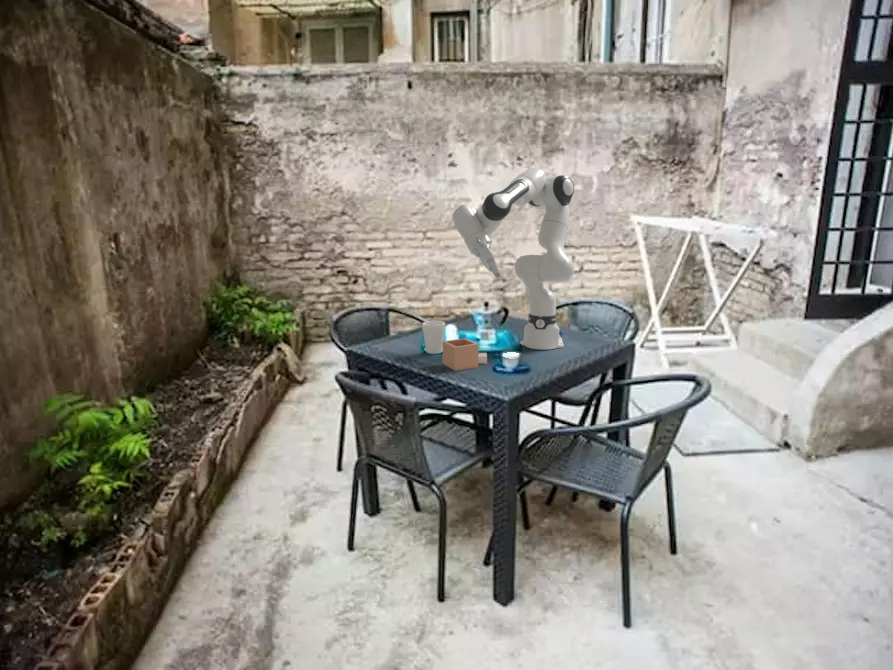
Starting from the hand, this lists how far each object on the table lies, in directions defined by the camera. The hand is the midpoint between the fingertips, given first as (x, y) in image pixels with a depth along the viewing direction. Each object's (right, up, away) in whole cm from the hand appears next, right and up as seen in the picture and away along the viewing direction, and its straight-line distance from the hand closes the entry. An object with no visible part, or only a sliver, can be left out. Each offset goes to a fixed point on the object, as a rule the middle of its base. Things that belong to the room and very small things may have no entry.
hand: (497, 274), depth 219 cm
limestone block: (-6, -34, +13) cm, 37 cm away
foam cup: (-24, -30, +28) cm, 48 cm away
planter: (-14, -35, +9) cm, 38 cm away
